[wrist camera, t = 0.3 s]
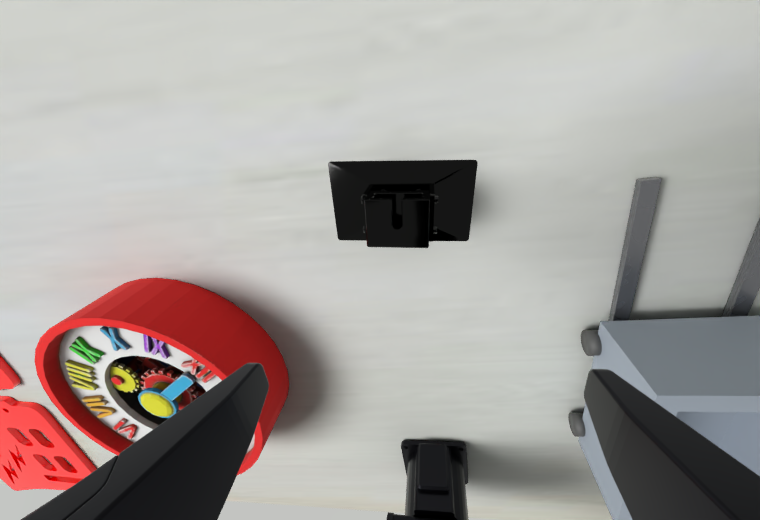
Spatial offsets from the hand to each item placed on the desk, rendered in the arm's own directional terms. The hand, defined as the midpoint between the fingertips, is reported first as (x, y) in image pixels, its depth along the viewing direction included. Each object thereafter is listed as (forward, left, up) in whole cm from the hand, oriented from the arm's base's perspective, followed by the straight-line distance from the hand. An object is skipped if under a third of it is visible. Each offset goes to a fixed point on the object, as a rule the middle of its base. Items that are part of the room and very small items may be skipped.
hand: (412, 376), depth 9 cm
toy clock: (-13, +24, -15) cm, 31 cm away
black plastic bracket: (+1, +1, -15) cm, 15 cm away
